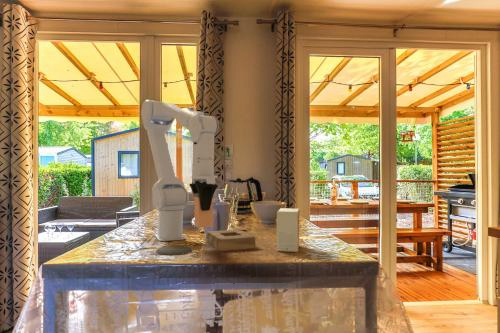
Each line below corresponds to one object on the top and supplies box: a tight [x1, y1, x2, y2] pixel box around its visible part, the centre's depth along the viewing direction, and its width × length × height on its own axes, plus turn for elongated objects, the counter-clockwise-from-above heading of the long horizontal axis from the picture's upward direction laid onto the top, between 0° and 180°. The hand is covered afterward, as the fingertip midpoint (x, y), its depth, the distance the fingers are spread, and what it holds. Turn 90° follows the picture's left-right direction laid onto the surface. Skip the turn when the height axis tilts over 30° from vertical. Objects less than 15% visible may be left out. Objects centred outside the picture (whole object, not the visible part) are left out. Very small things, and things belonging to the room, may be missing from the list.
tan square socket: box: [206, 228, 256, 252], centre depth 95 cm, size 12×10×3 cm
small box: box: [276, 207, 300, 253], centre depth 91 cm, size 8×6×10 cm
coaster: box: [155, 244, 192, 256], centre depth 87 cm, size 9×9×1 cm
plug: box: [193, 193, 214, 229], centre depth 91 cm, size 4×4×9 cm
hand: (202, 209), depth 91 cm, fingers closed on plug, 4 cm apart
